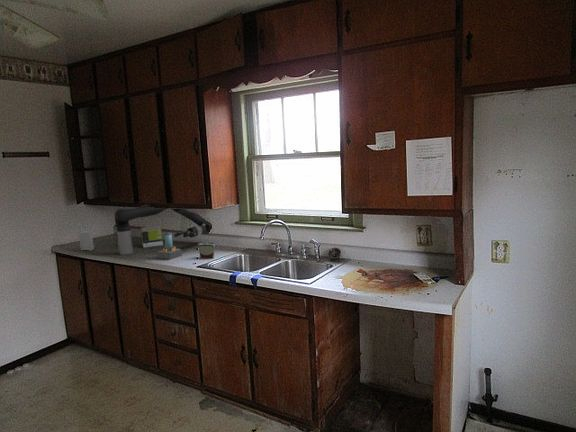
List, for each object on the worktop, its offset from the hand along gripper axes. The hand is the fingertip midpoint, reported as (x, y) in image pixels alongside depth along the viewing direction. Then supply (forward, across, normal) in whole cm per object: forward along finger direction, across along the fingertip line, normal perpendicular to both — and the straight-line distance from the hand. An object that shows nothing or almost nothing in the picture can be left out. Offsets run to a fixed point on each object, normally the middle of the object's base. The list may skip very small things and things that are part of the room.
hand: (179, 235), depth 280 cm
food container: (+3, +28, +13) cm, 31 cm away
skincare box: (+15, -85, +13) cm, 87 cm away
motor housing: (+11, 0, +13) cm, 17 cm away
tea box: (-14, -44, +13) cm, 48 cm away
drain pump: (+11, 0, +8) cm, 13 cm away
